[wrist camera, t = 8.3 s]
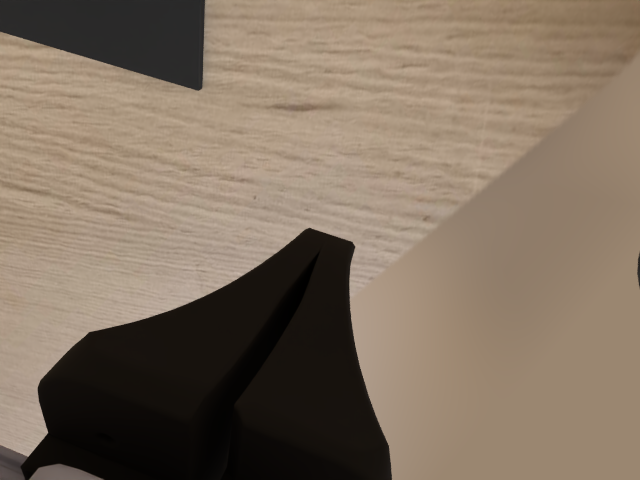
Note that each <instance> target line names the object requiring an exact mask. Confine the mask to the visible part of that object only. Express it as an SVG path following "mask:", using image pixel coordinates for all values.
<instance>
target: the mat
mask: <svg viewBox="0 0 640 480" xmlns="http://www.w3.org/2000/svg"><path fill="white" fill-rule="evenodd" d="M204 9H205V0H0V32H3V33H7V34H10V35H13V36H17V37H20V38H23V39H27V40H30V41H34V42H37V43H40V44H44V45H47V46H50V47H54V48H57V49H60V50H64V51H67V52H70V53H74V54H77V55H80V56H84V57H87V58H91V59H94V60H97V61H101V62H104V63H107V64H111V65H114V66H117V67H121V68H124V69H127V70H131V71H134V72H137V73H141V74H144V75H147V76H151V77H154V78H158V79H161V80H164V81H168V82H171V83H174V84H178V85H181V86H184V87H188V88H191V89H194V90H198V91H199V90H200V89H202V79H203V44H204Z"/></svg>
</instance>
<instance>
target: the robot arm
mask: <svg viewBox="0 0 640 480" xmlns="http://www.w3.org/2000/svg"><path fill="white" fill-rule="evenodd" d="M354 249H355V246H354V244H353V242H351V241H348V240H345V239H341V238H338V237H335V236H332V235H329V234H326V233H323V232H320V231H317V230H314V229H311V228H308V229H306V230H304V231H303V232H302V233H301V234H300V235H298V236H297V237H296V238H295V239H294V240H293V241H291V242H290V243H289V244H288V245H286V246H285V247H284V248H282V249H281V250H280V251H279V252H277V253H276V254H274V255H273V256H272V257H270V258H269V259H267V260H266V261H265V262H263V263H262V264H260V265H259V266H257V267H256V268H254V269H253V270H251V271H250V272H248V273H246V274H245V275H243V276H242V277H240V278H238V279H237V280H235V281H233V282H231V283H230V284H228V285H226V286H224V287H222V288H220V289H218V290H216V291H214V292H212V293H210V294H208V295H206V296H204V297H202V298H200V299H197V300H195V301H193V302H190V303H188V304H186V305H183V306H181V307H178V308H176V309H173V310H171V311H168V312H165V313H162V314H158V315H155V316H152V317H149V318H146V319H143V320H139V321H136V322H132V323H128V324H124V325H120V326H115V327H111V328H107V329H102V330H98V331H93V332H89V333H88V334H87V335H86V336H85V337H84V338H82V339H81V340H80V341H79V342H78V343H76V344H75V345H74V346H73V347H72V348H71V349H70V350H69V351H68V352H67V353H66V354H65V355H64V356H63V357H62V358H61V359H60V360H59V361H58V362H57V363H56V364H55V366H54V367H53V368H52V369H51V370H50V371H49V372H48V373H47V374H46V375H45V376H44V377H43V378H42V379H41V381H40V383H39V386H38V396H39V403H40V406H41V410H42V413H43V416H44V420H45V423H46V427H47V430H48V434H47V435H46V436H45V438H44V439H43V440H42V441H41V442H40V444H39V445H38V446H37V447H36V448H35V450H34V451H33V452H32V453H31V454H30V456H29V457H27V456H25V455H23V454H20V453H18V452H15V451H13V450H11V449H8V448H6V447H4V446H1V445H0V480H392V474H391V462H390V453H389V445H388V443H387V441H386V439H385V436H384V434H383V432H382V430H381V427H380V425H379V423H378V420H377V418H376V415H375V412H374V410H373V407H372V404H371V401H370V399H369V396H368V392H367V389H366V386H365V382H364V379H363V376H362V372H361V369H360V365H359V361H358V357H357V352H356V348H355V342H354V336H353V330H352V322H351V313H350V297H349V276H350V265H351V260H352V257H353V253H354Z"/></svg>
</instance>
